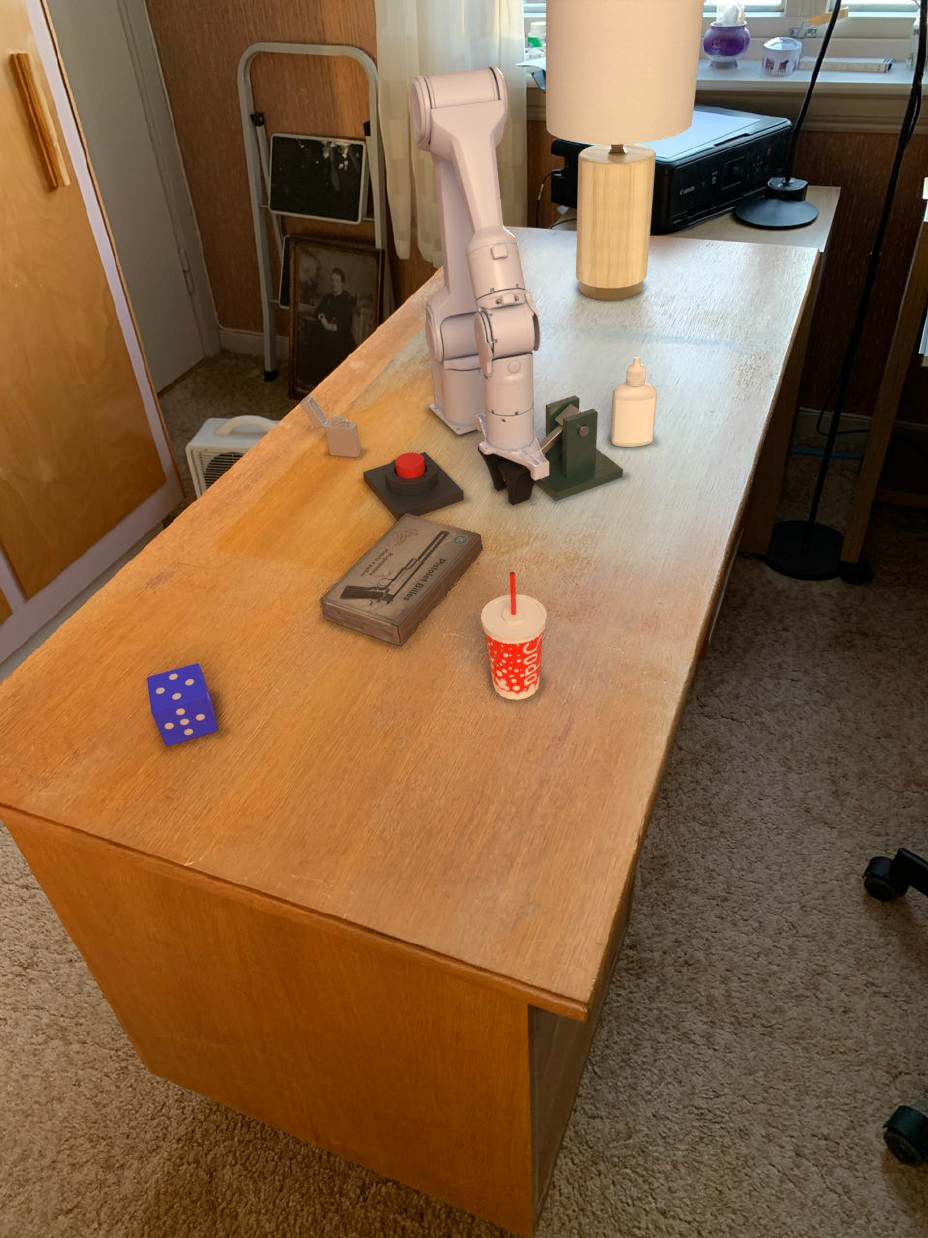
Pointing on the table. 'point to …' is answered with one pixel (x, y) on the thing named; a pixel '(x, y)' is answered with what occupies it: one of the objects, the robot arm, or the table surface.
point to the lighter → (334, 429)
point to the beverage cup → (514, 642)
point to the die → (181, 704)
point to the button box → (413, 489)
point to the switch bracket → (575, 453)
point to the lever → (557, 429)
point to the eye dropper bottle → (633, 409)
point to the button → (410, 465)
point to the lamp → (618, 120)
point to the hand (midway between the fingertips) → (512, 501)
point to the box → (401, 578)
